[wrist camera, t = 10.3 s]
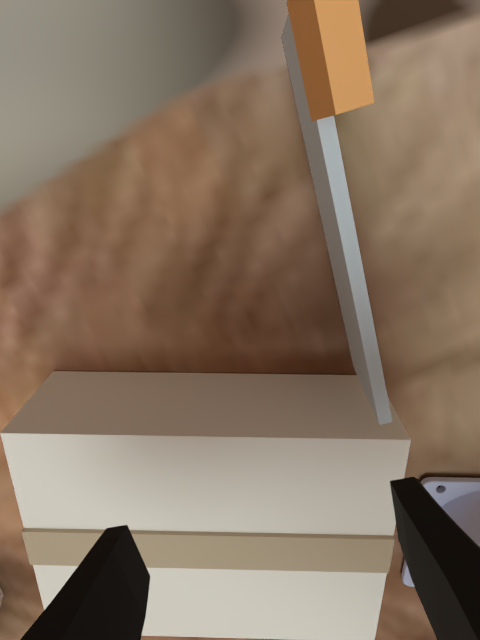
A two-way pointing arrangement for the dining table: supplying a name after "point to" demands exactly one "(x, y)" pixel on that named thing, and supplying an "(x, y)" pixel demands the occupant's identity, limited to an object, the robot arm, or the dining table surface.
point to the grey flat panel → (336, 159)
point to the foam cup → (1, 596)
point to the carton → (216, 495)
